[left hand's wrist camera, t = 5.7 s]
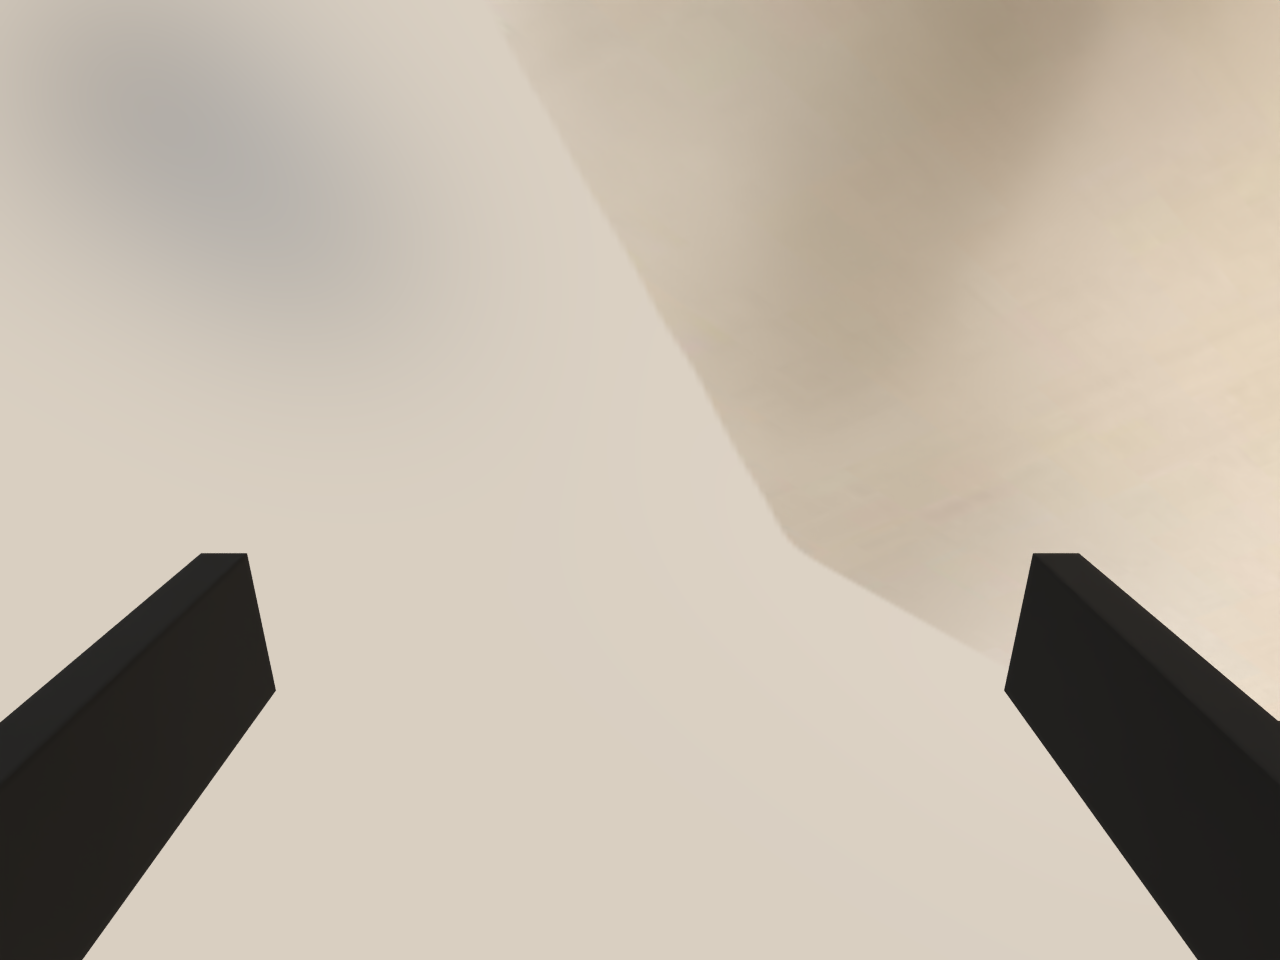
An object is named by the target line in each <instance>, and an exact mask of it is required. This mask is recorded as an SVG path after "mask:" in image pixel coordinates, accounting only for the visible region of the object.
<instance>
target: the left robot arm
mask: <svg viewBox="0 0 1280 960" xmlns="http://www.w3.org/2000/svg"><path fill="white" fill-rule="evenodd" d="M275 691H276V689H275V684H274V680H273V675H272V670H271V665H270V661H269V656H268V651H267V647H266V642H265V637H264V632H263V627H262V623H261V618H260V613H259V608H258V604H257V599H256V594H255V589H254V585H253V580H252V575H251V570H250V566H249V561H248V556H247V553H201V554H200V555H199V556H197V557H196V558H195V559H194V560H193V561H191V562H190V563H189V564H188V565H187V566H186V567H184V568H183V569H182V570H181V571H180V572H178V573H177V574H176V575H175V576H174V577H173V578H171V579H170V580H169V581H168V582H166V583H165V584H164V585H163V586H162V587H161V588H159V589H158V590H157V591H156V592H155V593H153V594H152V595H151V596H150V597H149V598H148V599H146V600H145V601H144V602H143V603H142V604H140V605H139V606H138V607H137V608H136V609H134V610H133V611H132V612H131V613H130V614H129V615H127V616H126V617H125V618H124V619H123V620H121V621H120V622H119V623H118V624H117V625H115V626H114V627H113V628H112V629H111V630H109V631H108V632H107V633H106V634H105V635H104V636H102V637H101V638H100V639H99V640H98V641H96V642H95V643H94V644H93V645H92V646H91V647H89V648H88V649H87V650H86V651H85V652H83V653H82V654H81V655H80V656H79V657H77V658H76V659H75V660H74V661H73V662H72V663H70V664H69V665H68V666H67V667H66V668H64V669H63V670H62V671H61V672H60V673H58V674H57V675H56V676H55V677H54V678H53V679H51V680H50V681H49V682H48V683H47V684H45V685H44V686H43V687H42V688H41V689H39V690H38V691H37V692H36V693H35V694H34V695H32V696H31V697H30V698H29V699H28V700H26V701H25V702H24V703H23V704H22V705H20V706H19V707H18V708H17V709H16V710H15V711H13V712H12V713H11V714H10V715H9V716H7V717H6V718H5V719H4V720H3V721H1V722H0V960H82V959H83V958H84V957H85V955H86V954H87V952H88V951H89V950H90V948H91V947H92V946H93V944H94V943H95V941H96V940H97V939H98V937H99V936H100V934H101V933H102V932H103V930H104V929H105V927H106V926H107V925H108V923H109V922H110V920H111V919H112V918H113V916H114V915H115V914H116V912H117V911H118V909H119V908H120V907H121V905H122V904H123V902H124V901H125V900H126V898H127V897H128V895H129V894H130V893H131V891H132V890H133V889H134V887H135V886H136V884H137V883H138V882H139V880H140V879H141V877H142V876H143V875H144V873H145V872H146V870H147V869H148V868H149V866H150V865H151V863H152V862H153V861H154V859H155V858H156V856H157V855H158V854H159V852H160V851H161V849H162V848H163V847H164V845H165V844H166V843H167V841H168V840H169V838H170V837H171V836H172V834H173V833H174V831H175V830H176V829H177V827H178V826H179V825H180V823H181V822H182V820H183V819H184V817H185V816H186V815H187V813H188V812H189V811H190V809H191V808H192V806H193V805H194V804H195V802H196V801H197V799H198V798H199V797H200V795H201V794H202V793H203V791H204V790H205V788H206V787H207V786H208V784H209V783H210V781H211V780H212V779H213V777H214V776H215V774H216V773H217V772H218V770H219V769H220V767H221V766H222V765H223V763H224V762H225V760H226V759H227V758H228V756H229V755H230V754H231V752H232V751H233V749H234V748H235V747H236V745H237V744H238V742H239V741H240V740H241V738H242V737H243V735H244V734H245V733H246V731H247V730H248V728H249V727H250V726H251V724H252V723H253V721H254V720H255V719H256V717H257V716H258V715H259V713H260V712H261V710H262V709H263V708H264V706H265V705H266V703H267V702H268V701H269V699H270V698H271V696H272V695H273V694H274V692H275ZM1004 691H1005V692H1006V694H1007V695H1008V696H1009V698H1010V699H1011V701H1012V702H1013V703H1014V705H1015V706H1016V708H1017V709H1018V710H1019V712H1020V713H1021V715H1022V716H1023V717H1024V719H1025V720H1026V722H1027V723H1028V724H1029V726H1030V727H1031V728H1032V730H1033V731H1034V733H1035V734H1036V735H1037V737H1038V738H1039V740H1040V741H1041V742H1042V744H1043V745H1044V747H1045V748H1046V749H1047V751H1048V752H1049V754H1050V755H1051V756H1052V758H1053V759H1054V760H1055V762H1056V763H1057V765H1058V766H1059V767H1060V769H1061V770H1062V772H1063V773H1064V774H1065V776H1066V777H1067V779H1068V780H1069V781H1070V783H1071V784H1072V786H1073V787H1074V788H1075V790H1076V791H1077V792H1078V794H1079V795H1080V797H1081V798H1082V799H1083V801H1084V802H1085V803H1086V805H1087V806H1088V808H1089V809H1090V811H1091V812H1092V813H1093V815H1094V816H1095V818H1096V819H1097V820H1098V822H1099V823H1100V825H1101V826H1102V827H1103V829H1104V830H1105V831H1106V833H1107V834H1108V836H1109V837H1110V838H1111V840H1112V841H1113V843H1114V844H1115V845H1116V847H1117V848H1118V849H1119V851H1120V852H1121V854H1122V855H1123V856H1124V858H1125V859H1126V861H1127V862H1128V863H1129V865H1130V866H1131V868H1132V869H1133V870H1134V872H1135V873H1136V875H1137V876H1138V877H1139V879H1140V880H1141V882H1142V883H1143V884H1144V886H1145V887H1146V889H1147V890H1148V891H1149V893H1150V894H1151V895H1152V897H1153V898H1154V900H1155V901H1156V902H1157V904H1158V905H1159V907H1160V908H1161V909H1162V911H1163V912H1164V914H1165V915H1166V916H1167V918H1168V919H1169V920H1170V922H1171V923H1172V925H1173V926H1174V927H1175V929H1176V930H1177V932H1178V933H1179V934H1180V936H1181V937H1182V939H1183V940H1184V941H1185V943H1186V944H1187V946H1188V947H1189V948H1190V950H1191V951H1192V953H1193V954H1194V955H1195V957H1196V958H1197V959H1198V960H1280V721H1277V720H1276V719H1275V718H1274V717H1273V716H1271V715H1270V714H1269V713H1268V712H1267V711H1265V710H1264V709H1263V708H1262V707H1261V706H1260V705H1258V704H1257V703H1256V702H1255V701H1254V700H1252V699H1251V698H1250V697H1249V696H1248V695H1246V694H1245V693H1244V692H1243V691H1242V690H1241V689H1239V688H1238V687H1237V686H1236V685H1235V684H1233V683H1232V682H1231V681H1230V680H1229V679H1227V678H1226V677H1225V676H1224V675H1223V674H1222V673H1220V672H1219V671H1218V670H1217V669H1216V668H1214V667H1213V666H1212V665H1211V664H1210V663H1208V662H1207V661H1206V660H1205V659H1204V658H1203V657H1201V656H1200V655H1199V654H1198V653H1197V652H1195V651H1194V650H1193V649H1192V648H1191V647H1189V646H1188V645H1187V644H1186V643H1185V642H1184V641H1182V640H1181V639H1180V638H1179V637H1178V636H1176V635H1175V634H1174V633H1173V632H1172V631H1170V630H1169V629H1168V628H1167V627H1166V626H1165V625H1163V624H1162V623H1161V622H1160V621H1159V620H1157V619H1156V618H1155V617H1154V616H1153V615H1152V614H1150V613H1149V612H1148V611H1147V610H1146V609H1144V608H1143V607H1142V606H1141V605H1140V604H1138V603H1137V602H1136V601H1135V600H1134V599H1133V598H1131V597H1130V596H1129V595H1128V594H1127V593H1125V592H1124V591H1123V590H1122V589H1121V588H1119V587H1118V586H1117V585H1116V584H1115V583H1114V582H1112V581H1111V580H1110V579H1109V578H1108V577H1106V576H1105V575H1104V574H1103V573H1102V572H1100V571H1099V570H1098V569H1097V568H1096V567H1095V566H1093V565H1092V564H1091V563H1090V562H1089V561H1087V560H1086V559H1085V558H1084V557H1083V556H1081V555H1080V554H1079V553H1033V556H1032V561H1031V566H1030V570H1029V575H1028V580H1027V585H1026V589H1025V594H1024V599H1023V604H1022V608H1021V613H1020V618H1019V623H1018V627H1017V632H1016V637H1015V642H1014V646H1013V651H1012V656H1011V661H1010V665H1009V670H1008V675H1007V680H1006V684H1005V689H1004Z"/></svg>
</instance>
